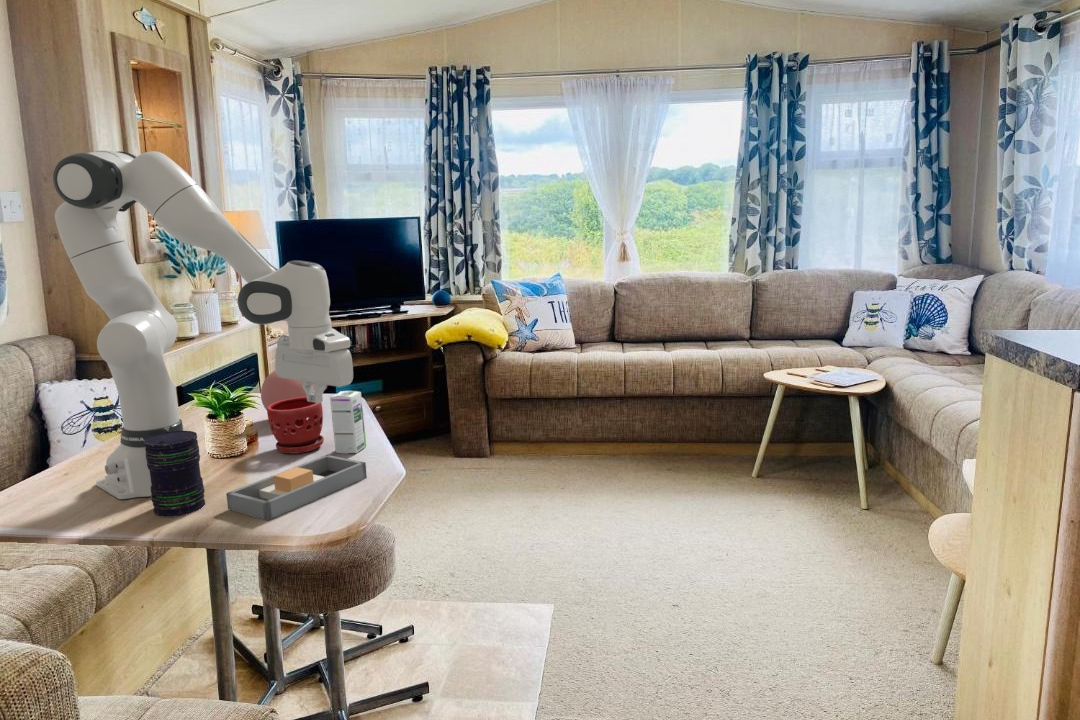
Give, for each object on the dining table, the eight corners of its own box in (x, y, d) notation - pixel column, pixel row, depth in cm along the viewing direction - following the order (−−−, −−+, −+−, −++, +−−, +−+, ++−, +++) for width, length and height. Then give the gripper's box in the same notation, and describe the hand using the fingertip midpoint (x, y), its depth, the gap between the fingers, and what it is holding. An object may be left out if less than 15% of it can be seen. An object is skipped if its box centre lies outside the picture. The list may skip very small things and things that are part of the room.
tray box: (228, 509, 159) (226, 493, 158) (328, 469, 181) (327, 454, 181) (267, 520, 153) (266, 503, 152) (366, 477, 175) (365, 462, 174)
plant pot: (309, 437, 207) (305, 393, 205) (335, 447, 198) (331, 401, 195) (262, 449, 198) (257, 403, 196) (287, 460, 189) (282, 412, 186)
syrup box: (356, 454, 192) (352, 396, 189) (334, 453, 193) (329, 395, 190) (366, 446, 197) (362, 390, 194) (344, 446, 199) (339, 390, 196)
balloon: (339, 420, 222) (335, 367, 219) (265, 430, 215) (259, 375, 212) (332, 408, 237) (328, 358, 234) (262, 416, 229) (257, 365, 226)
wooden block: (275, 489, 164) (273, 475, 163) (297, 480, 169) (296, 466, 168) (291, 493, 161) (290, 479, 161) (313, 483, 166) (312, 470, 166)
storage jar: (173, 498, 167) (164, 430, 164) (215, 499, 165) (207, 430, 162) (142, 516, 157) (132, 444, 154) (187, 518, 155) (177, 445, 152)
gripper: (265, 336, 169) (270, 399, 172) (333, 344, 158) (337, 411, 161) (288, 332, 174) (293, 393, 177) (356, 339, 163) (359, 404, 166)
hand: (314, 401), depth 169 cm, fingers closed
